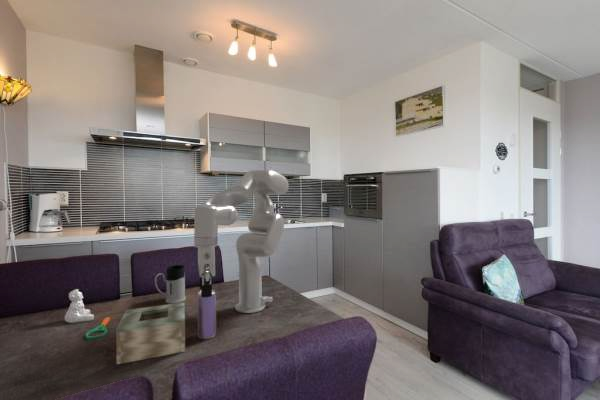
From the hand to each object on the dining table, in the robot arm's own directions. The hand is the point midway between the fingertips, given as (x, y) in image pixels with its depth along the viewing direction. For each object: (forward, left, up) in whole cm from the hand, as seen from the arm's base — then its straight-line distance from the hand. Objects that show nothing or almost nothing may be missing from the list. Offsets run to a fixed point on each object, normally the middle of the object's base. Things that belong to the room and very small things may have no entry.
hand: (205, 292), depth 98 cm
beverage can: (0, 0, -15) cm, 15 cm away
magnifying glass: (+35, -20, -16) cm, 43 cm away
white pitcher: (+13, -40, -15) cm, 45 cm away
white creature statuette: (+45, -32, -15) cm, 57 cm away
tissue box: (+16, 0, -15) cm, 22 cm away
